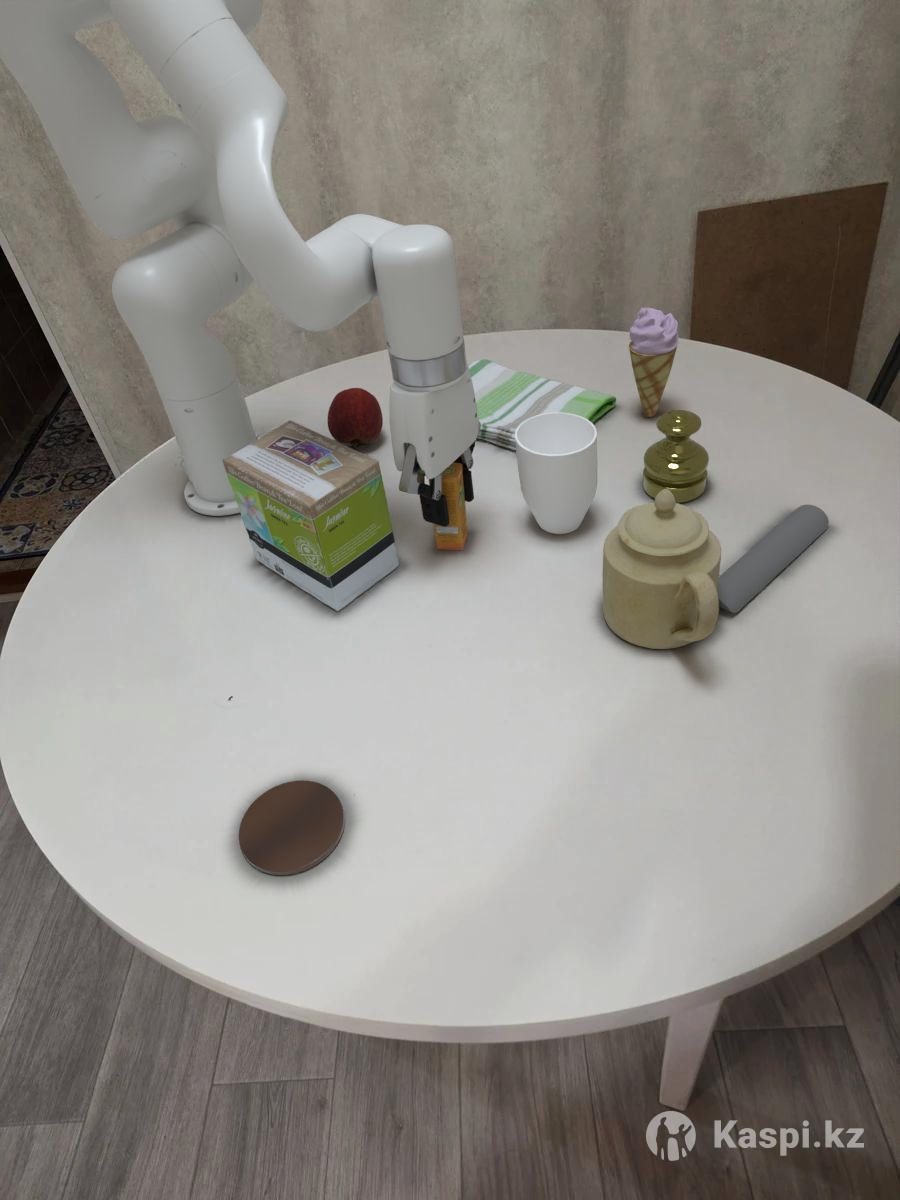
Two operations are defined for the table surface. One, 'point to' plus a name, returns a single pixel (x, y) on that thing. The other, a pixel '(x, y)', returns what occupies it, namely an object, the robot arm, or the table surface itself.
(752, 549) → the gray half cylinder
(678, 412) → the brass weight
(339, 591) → the tea box
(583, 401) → the dish towel
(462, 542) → the supplement box
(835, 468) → the table surface
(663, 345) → the ice cream cone
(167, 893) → the table surface
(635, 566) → the sugar bowl
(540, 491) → the mug
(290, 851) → the coaster
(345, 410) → the apple
